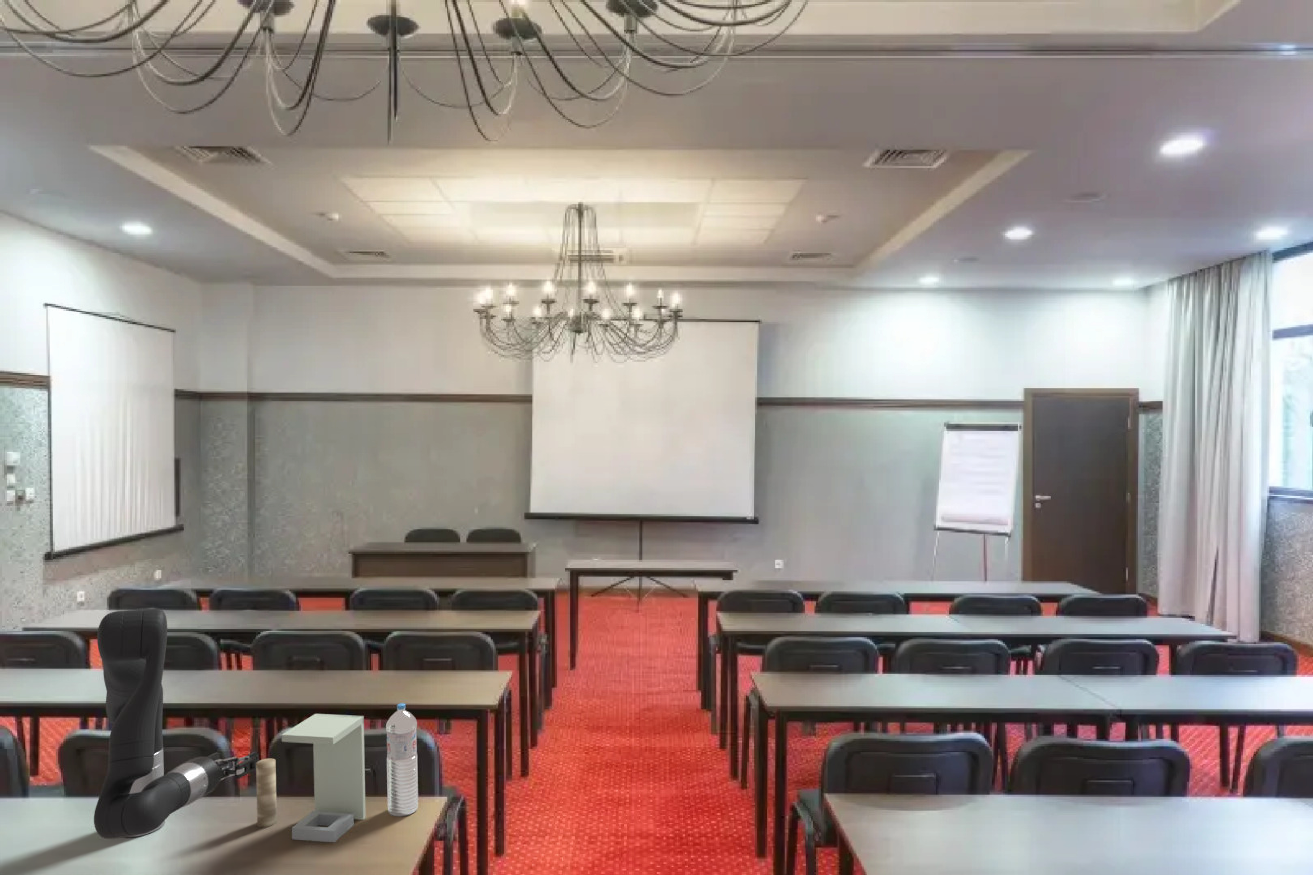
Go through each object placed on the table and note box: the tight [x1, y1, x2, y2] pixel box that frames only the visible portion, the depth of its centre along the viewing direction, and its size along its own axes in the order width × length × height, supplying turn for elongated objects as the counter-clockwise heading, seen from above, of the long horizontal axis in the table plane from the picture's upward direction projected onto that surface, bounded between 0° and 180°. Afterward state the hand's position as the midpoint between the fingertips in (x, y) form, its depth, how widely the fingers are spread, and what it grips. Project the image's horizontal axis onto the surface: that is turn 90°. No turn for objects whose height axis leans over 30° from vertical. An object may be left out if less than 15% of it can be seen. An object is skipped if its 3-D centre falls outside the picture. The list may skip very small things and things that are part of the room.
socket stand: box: [281, 713, 366, 843], centre depth 188 cm, size 12×13×24 cm
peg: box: [255, 758, 278, 828], centre depth 191 cm, size 4×4×14 cm
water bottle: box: [385, 702, 419, 817], centre depth 197 cm, size 7×7×25 cm
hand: (237, 756), depth 181 cm, fingers open, 8 cm apart
